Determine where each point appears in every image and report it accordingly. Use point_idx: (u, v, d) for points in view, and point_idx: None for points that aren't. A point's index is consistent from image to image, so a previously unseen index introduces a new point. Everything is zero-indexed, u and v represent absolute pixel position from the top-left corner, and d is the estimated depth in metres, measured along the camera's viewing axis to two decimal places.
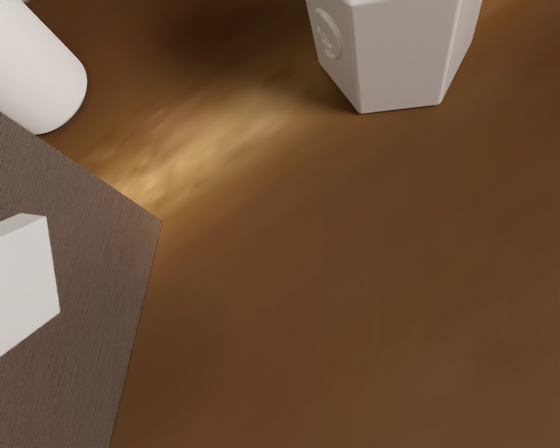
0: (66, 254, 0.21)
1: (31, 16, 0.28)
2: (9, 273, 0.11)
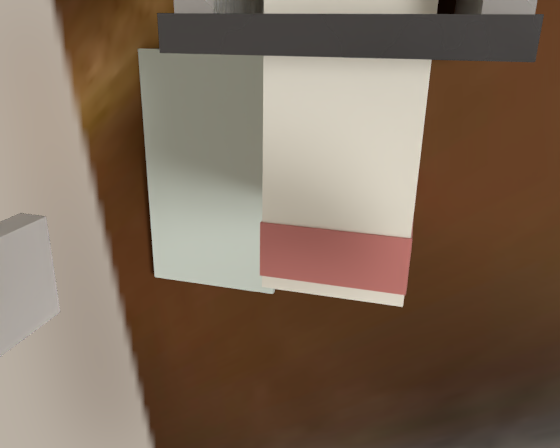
0: None
1: None
2: (9, 272, 0.11)
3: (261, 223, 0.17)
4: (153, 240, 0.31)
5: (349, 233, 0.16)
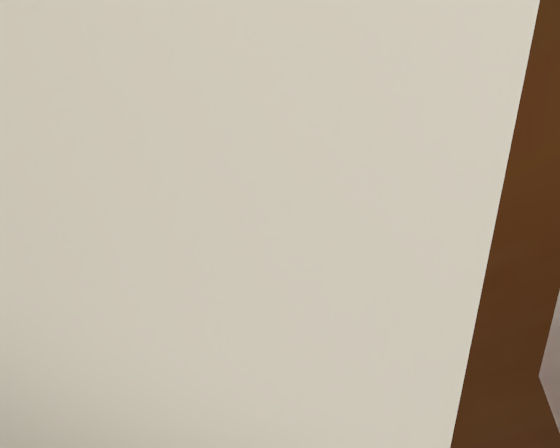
0: None
1: None
2: None
3: None
4: None
5: None
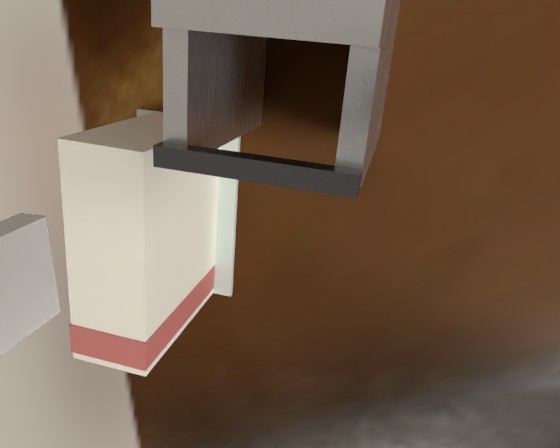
0: None
1: None
2: (9, 273, 0.11)
3: (70, 325, 0.30)
4: None
5: (114, 336, 0.30)
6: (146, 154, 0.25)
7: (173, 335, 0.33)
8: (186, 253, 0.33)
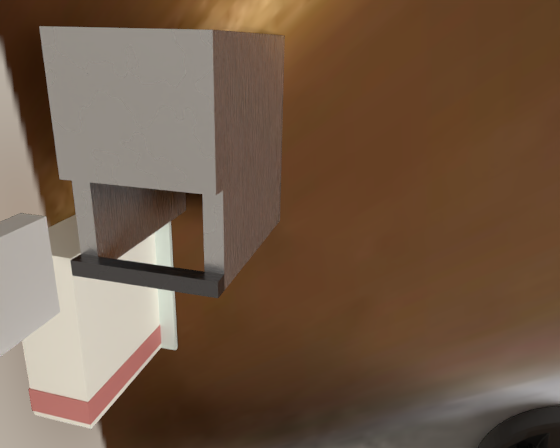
0: (250, 102, 0.29)
1: None
2: (9, 273, 0.11)
3: (29, 389, 0.37)
4: None
5: (64, 397, 0.36)
6: None
7: (118, 391, 0.40)
8: (126, 322, 0.40)
